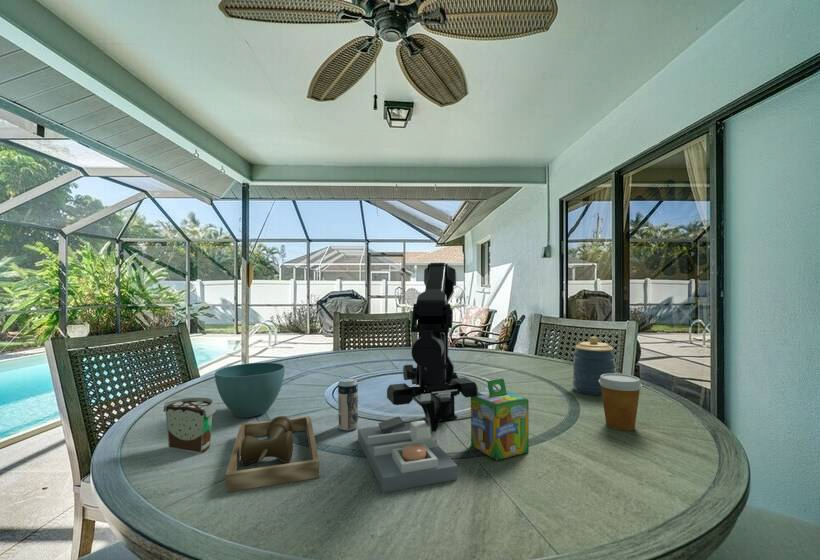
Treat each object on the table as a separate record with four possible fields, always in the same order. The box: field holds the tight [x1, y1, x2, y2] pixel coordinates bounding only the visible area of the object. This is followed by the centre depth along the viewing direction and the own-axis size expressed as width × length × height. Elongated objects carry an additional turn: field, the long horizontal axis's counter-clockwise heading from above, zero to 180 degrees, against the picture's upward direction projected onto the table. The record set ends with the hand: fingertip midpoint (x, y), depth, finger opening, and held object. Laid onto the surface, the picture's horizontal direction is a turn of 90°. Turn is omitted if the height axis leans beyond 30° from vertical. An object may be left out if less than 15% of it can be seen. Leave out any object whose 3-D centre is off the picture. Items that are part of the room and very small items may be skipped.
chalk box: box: [470, 378, 530, 462], centre depth 86 cm, size 9×9×15 cm
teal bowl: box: [214, 362, 286, 418], centre depth 111 cm, size 18×18×12 cm
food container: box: [163, 396, 216, 455], centre depth 89 cm, size 12×6×10 cm, turn 71°
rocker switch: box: [378, 415, 405, 434], centre depth 90 cm, size 5×4×1 cm
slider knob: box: [410, 420, 431, 441], centre depth 83 cm, size 3×4×4 cm
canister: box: [572, 336, 617, 397], centre depth 129 cm, size 13×13×18 cm
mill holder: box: [225, 415, 320, 493], centre depth 84 cm, size 16×26×3 cm, turn 18°
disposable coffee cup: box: [599, 373, 643, 431], centre depth 98 cm, size 10×10×12 cm
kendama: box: [240, 415, 294, 466], centre depth 85 cm, size 6×10×20 cm
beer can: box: [337, 377, 359, 432], centre depth 99 cm, size 5×5×12 cm
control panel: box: [357, 422, 458, 494], centre depth 82 cm, size 14×24×4 cm, turn 18°
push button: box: [402, 444, 426, 462], centre depth 74 cm, size 4×4×2 cm
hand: (433, 431), depth 84 cm, fingers closed
